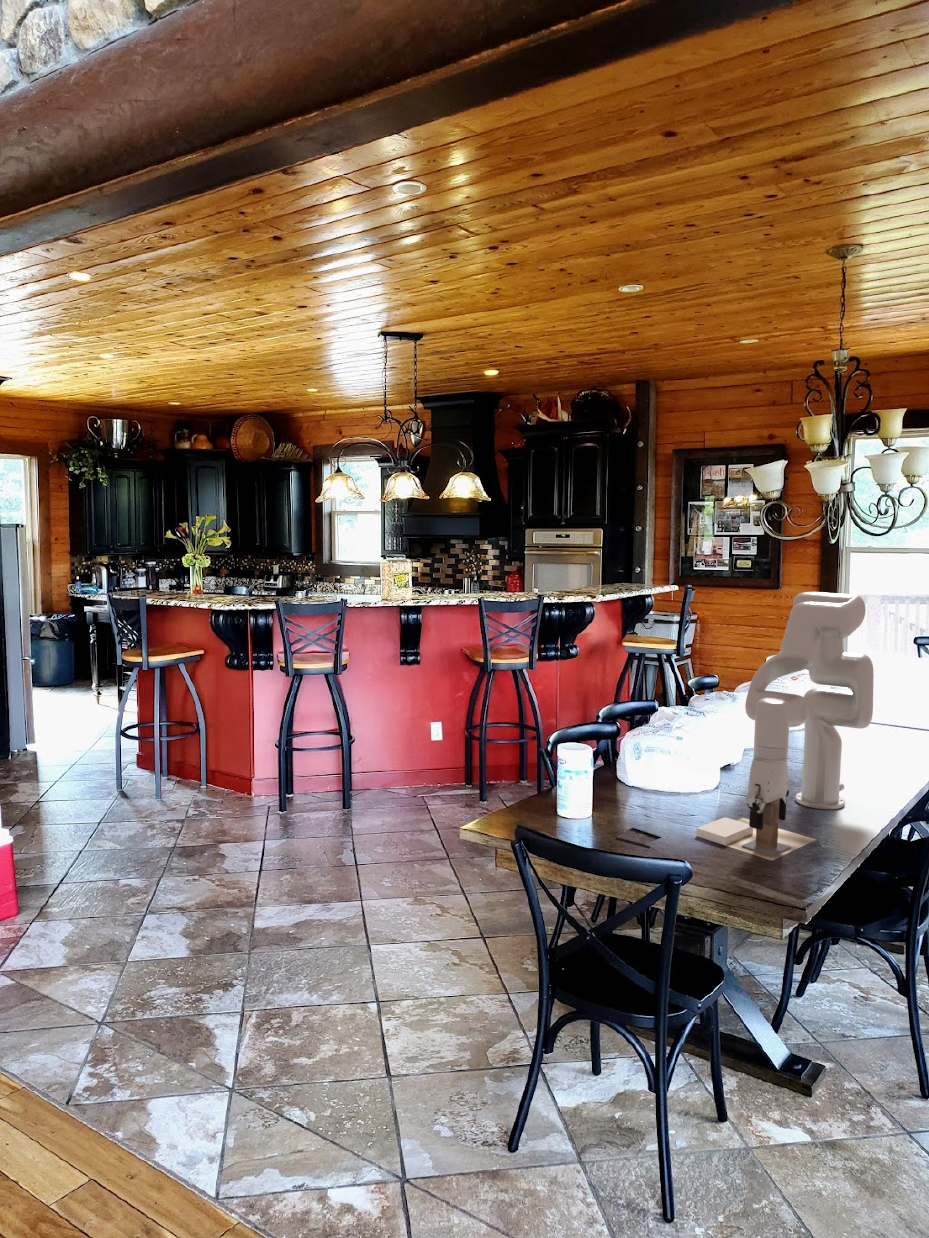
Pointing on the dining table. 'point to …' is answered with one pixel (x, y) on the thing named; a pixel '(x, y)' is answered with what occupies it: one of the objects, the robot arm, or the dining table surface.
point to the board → (783, 838)
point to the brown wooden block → (769, 826)
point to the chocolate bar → (637, 837)
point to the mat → (771, 852)
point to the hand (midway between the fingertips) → (767, 823)
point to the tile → (724, 831)
